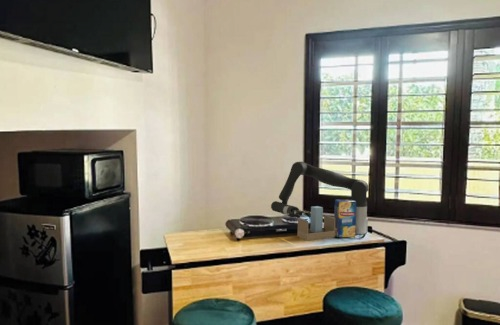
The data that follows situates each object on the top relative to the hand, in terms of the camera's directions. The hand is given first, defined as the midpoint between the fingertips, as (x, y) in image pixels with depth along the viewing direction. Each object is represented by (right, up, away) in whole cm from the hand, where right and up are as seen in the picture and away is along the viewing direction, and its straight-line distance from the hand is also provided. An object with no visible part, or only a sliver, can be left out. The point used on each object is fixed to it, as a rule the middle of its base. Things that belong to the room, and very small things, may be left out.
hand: (305, 215), depth 235 cm
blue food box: (+23, -12, -5) cm, 26 cm away
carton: (+5, -12, -10) cm, 16 cm away
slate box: (+5, -11, -10) cm, 16 cm away
